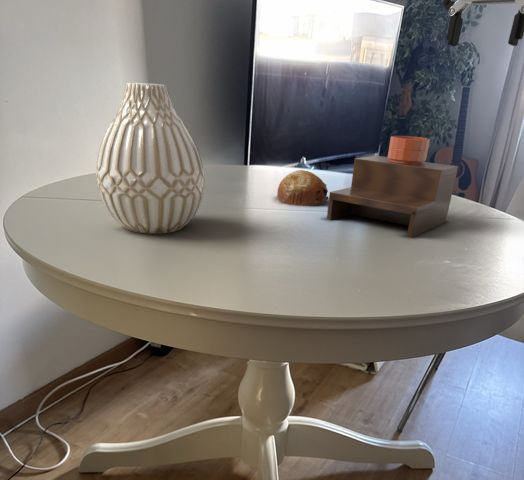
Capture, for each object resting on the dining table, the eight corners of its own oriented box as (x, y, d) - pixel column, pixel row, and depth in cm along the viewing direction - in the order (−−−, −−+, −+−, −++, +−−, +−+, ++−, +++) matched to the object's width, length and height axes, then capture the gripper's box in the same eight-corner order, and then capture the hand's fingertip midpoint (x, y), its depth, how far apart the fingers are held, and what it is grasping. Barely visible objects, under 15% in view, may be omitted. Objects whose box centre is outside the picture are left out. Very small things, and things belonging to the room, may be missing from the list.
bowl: (430, 163, 86) (435, 138, 84) (416, 165, 81) (421, 140, 79) (396, 158, 89) (400, 135, 87) (380, 161, 85) (384, 136, 83)
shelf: (445, 223, 89) (458, 166, 84) (410, 239, 77) (423, 174, 73) (367, 208, 97) (375, 155, 92) (326, 220, 86) (333, 161, 81)
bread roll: (290, 212, 106) (277, 177, 103) (334, 196, 102) (322, 159, 99) (280, 222, 97) (265, 184, 95) (327, 205, 93) (314, 164, 90)
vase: (80, 226, 74) (60, 78, 65) (157, 211, 86) (151, 83, 76) (149, 248, 66) (139, 83, 57) (225, 228, 77) (227, 88, 68)
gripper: (582, -93, 69) (543, 47, 77) (462, -76, 78) (438, 47, 86) (574, -110, 64) (533, 42, 72) (446, -90, 73) (422, 43, 81)
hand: (481, 45), depth 79 cm, fingers open, 9 cm apart
